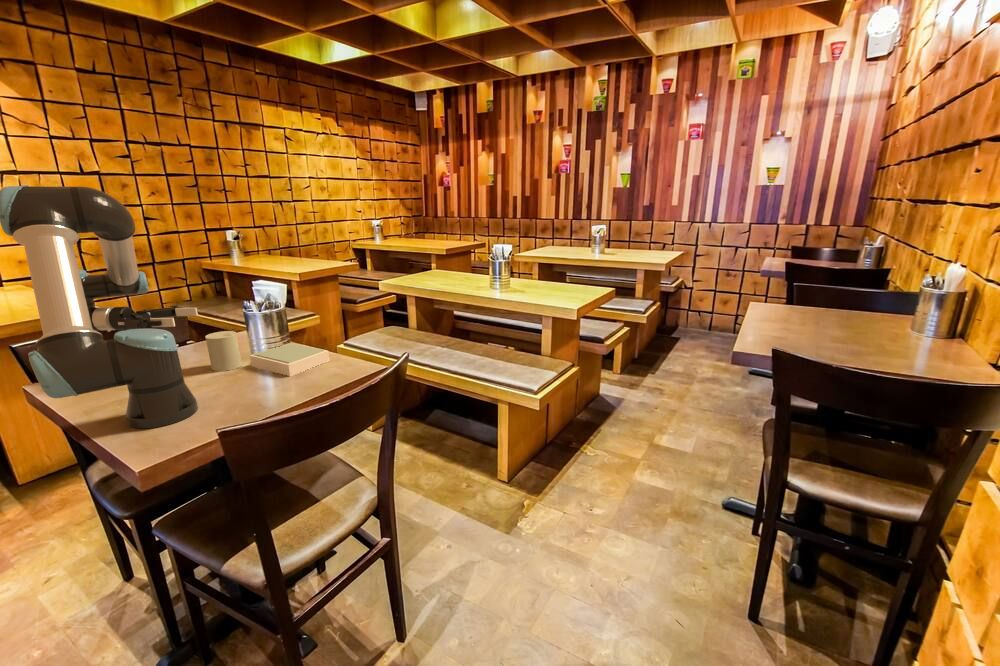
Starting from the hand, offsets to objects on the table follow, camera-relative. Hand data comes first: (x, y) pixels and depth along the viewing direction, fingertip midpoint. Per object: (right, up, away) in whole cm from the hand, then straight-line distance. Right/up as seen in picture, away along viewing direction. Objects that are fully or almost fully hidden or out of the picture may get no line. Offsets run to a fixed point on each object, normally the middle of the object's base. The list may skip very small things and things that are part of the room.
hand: (185, 316), depth 148 cm
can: (+10, -17, +6) cm, 21 cm away
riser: (+31, -16, +8) cm, 36 cm away
